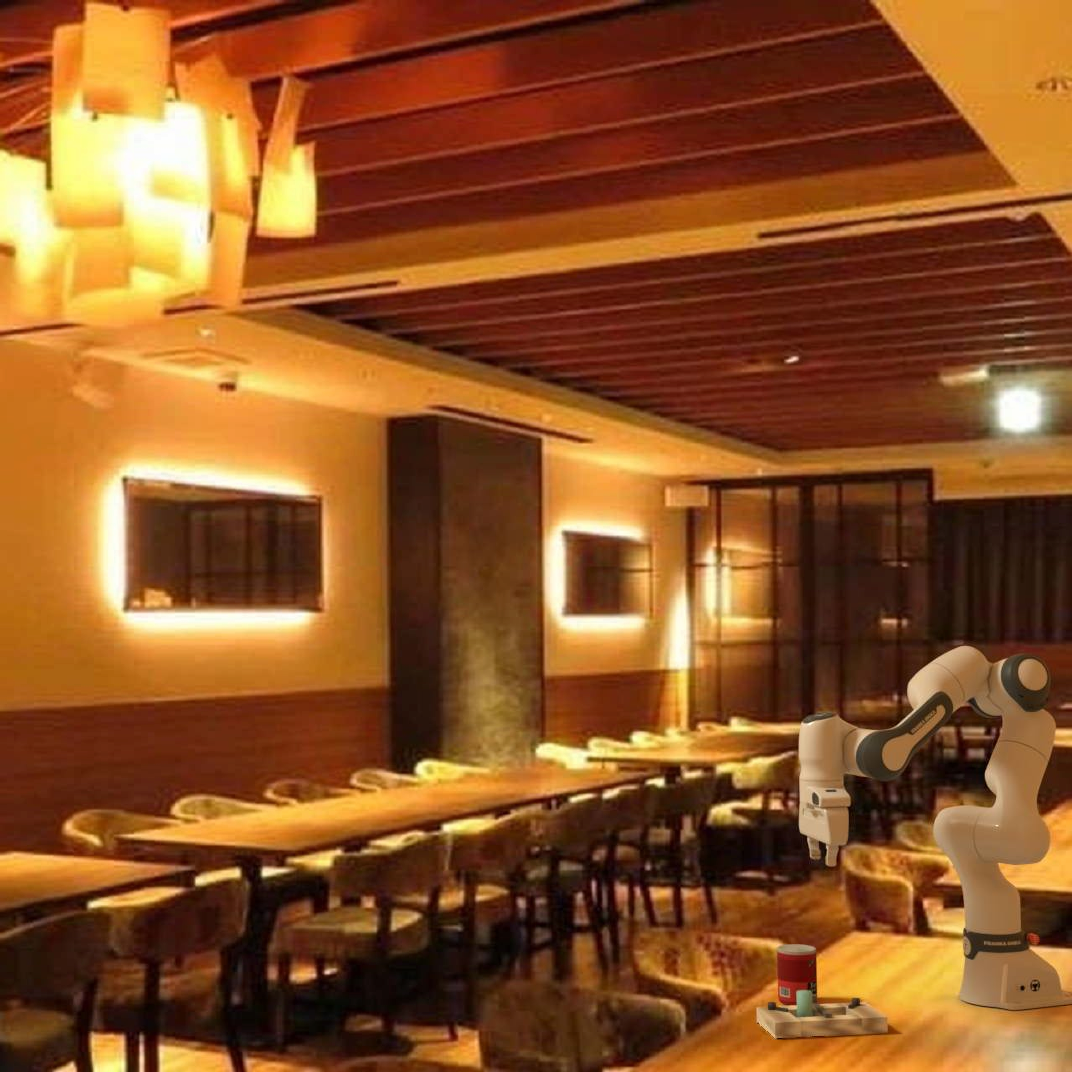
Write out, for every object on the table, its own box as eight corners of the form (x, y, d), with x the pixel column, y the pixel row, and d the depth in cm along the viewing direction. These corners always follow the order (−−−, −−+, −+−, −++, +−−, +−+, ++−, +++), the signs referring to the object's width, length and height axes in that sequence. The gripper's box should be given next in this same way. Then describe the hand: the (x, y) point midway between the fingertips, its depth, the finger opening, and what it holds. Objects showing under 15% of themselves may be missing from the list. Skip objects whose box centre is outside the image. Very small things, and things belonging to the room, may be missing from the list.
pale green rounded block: (795, 1027, 300) (794, 990, 300) (810, 1026, 300) (809, 989, 300) (800, 1031, 297) (799, 994, 297) (815, 1030, 297) (814, 993, 298)
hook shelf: (864, 1017, 307) (864, 990, 307) (887, 1033, 295) (887, 1005, 295) (756, 1022, 303) (756, 995, 304) (775, 1039, 291) (774, 1010, 292)
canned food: (817, 1007, 315) (815, 952, 316) (777, 1006, 317) (775, 951, 317) (817, 998, 322) (816, 944, 323) (778, 997, 324) (777, 943, 325)
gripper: (790, 788, 326) (792, 855, 326) (822, 799, 306) (824, 870, 305) (819, 787, 327) (821, 854, 327) (853, 798, 307) (855, 869, 306)
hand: (823, 862), depth 316 cm, fingers open, 8 cm apart
